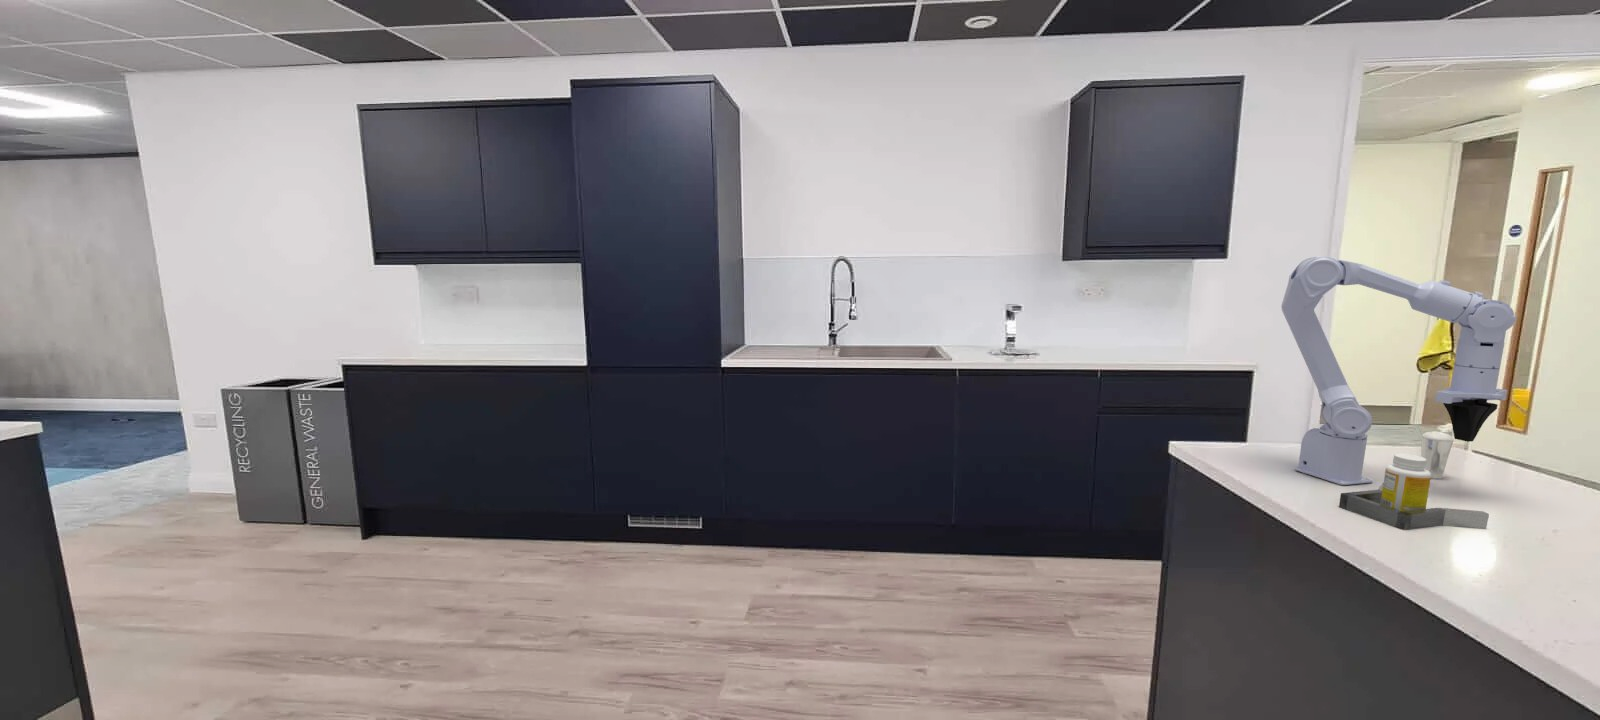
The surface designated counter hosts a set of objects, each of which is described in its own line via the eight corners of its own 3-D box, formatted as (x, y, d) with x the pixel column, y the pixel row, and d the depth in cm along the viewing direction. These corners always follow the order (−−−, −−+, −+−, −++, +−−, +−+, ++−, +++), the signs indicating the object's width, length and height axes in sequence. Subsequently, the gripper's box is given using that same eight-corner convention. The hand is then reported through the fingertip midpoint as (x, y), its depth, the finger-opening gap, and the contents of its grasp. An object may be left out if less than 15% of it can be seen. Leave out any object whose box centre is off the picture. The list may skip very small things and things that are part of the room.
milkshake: (1408, 470, 133) (1415, 423, 131) (1444, 475, 129) (1452, 427, 128) (1412, 476, 129) (1420, 427, 127) (1449, 481, 126) (1457, 432, 124)
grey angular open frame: (1323, 501, 114) (1325, 488, 114) (1383, 495, 118) (1385, 482, 117) (1423, 536, 100) (1426, 521, 99) (1488, 528, 103) (1491, 513, 103)
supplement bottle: (1430, 518, 107) (1440, 459, 106) (1415, 524, 105) (1425, 463, 103) (1387, 506, 112) (1396, 450, 111) (1372, 512, 110) (1381, 454, 108)
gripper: (1475, 371, 109) (1462, 448, 111) (1534, 368, 113) (1520, 443, 115) (1426, 364, 116) (1414, 437, 118) (1483, 362, 120) (1471, 433, 122)
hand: (1463, 440), depth 117 cm, fingers closed
